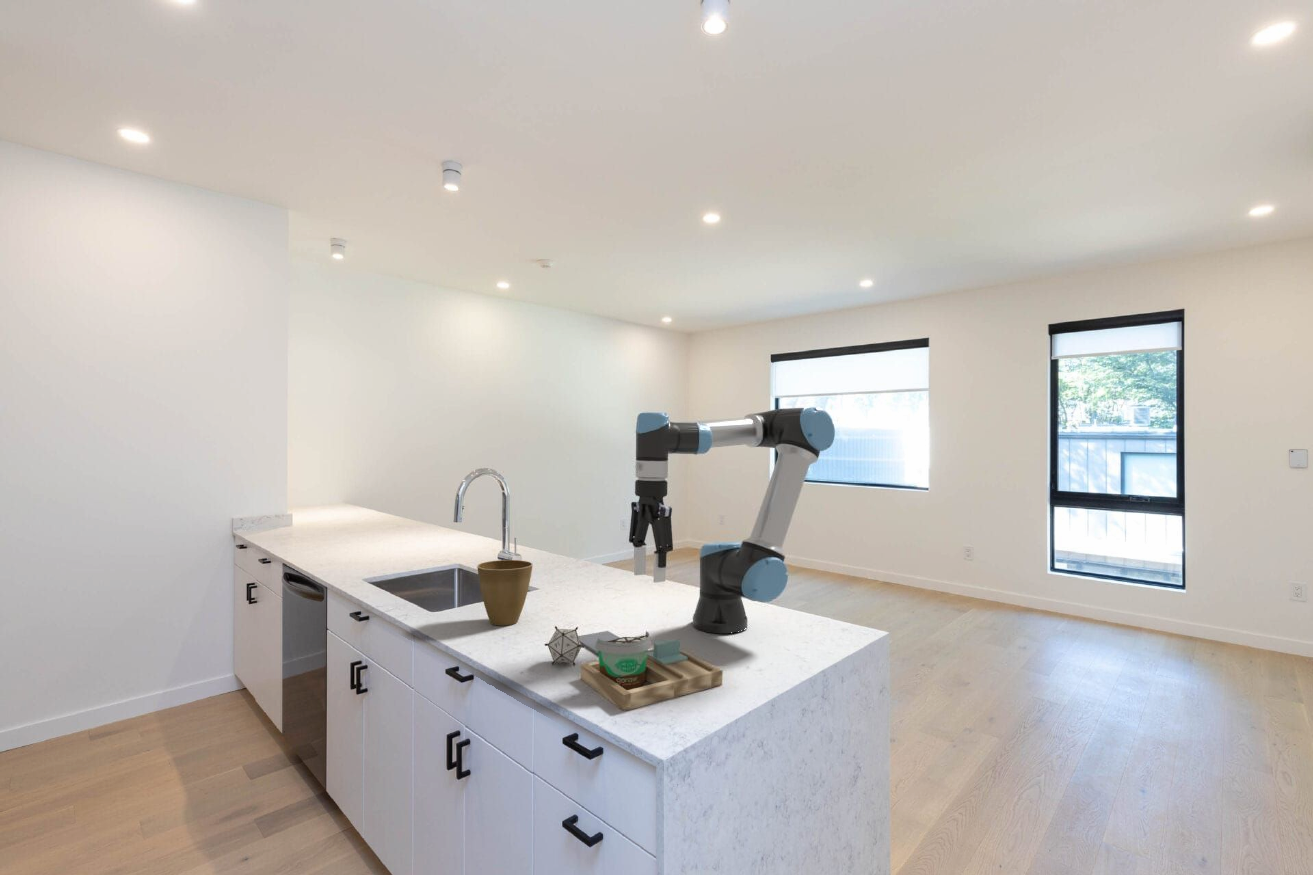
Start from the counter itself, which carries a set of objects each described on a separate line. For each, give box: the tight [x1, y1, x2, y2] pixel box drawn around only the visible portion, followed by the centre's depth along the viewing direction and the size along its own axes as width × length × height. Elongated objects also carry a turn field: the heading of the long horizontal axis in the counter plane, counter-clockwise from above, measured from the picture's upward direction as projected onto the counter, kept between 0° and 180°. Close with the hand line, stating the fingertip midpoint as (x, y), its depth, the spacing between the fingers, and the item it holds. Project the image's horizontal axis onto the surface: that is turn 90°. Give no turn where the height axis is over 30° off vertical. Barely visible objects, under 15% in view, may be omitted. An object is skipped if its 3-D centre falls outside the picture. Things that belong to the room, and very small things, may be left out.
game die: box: [543, 625, 586, 667], centre depth 137 cm, size 9×8×10 cm
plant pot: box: [476, 559, 533, 627], centre depth 167 cm, size 15×15×16 cm
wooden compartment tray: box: [580, 648, 724, 712], centre depth 127 cm, size 24×18×4 cm
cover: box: [647, 638, 688, 665], centre depth 133 cm, size 7×7×4 cm
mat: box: [578, 630, 621, 656], centre depth 149 cm, size 10×16×1 cm, turn 34°
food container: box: [595, 630, 652, 690], centre depth 124 cm, size 12×6×10 cm, turn 118°
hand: (649, 577), depth 139 cm, fingers open, 8 cm apart
